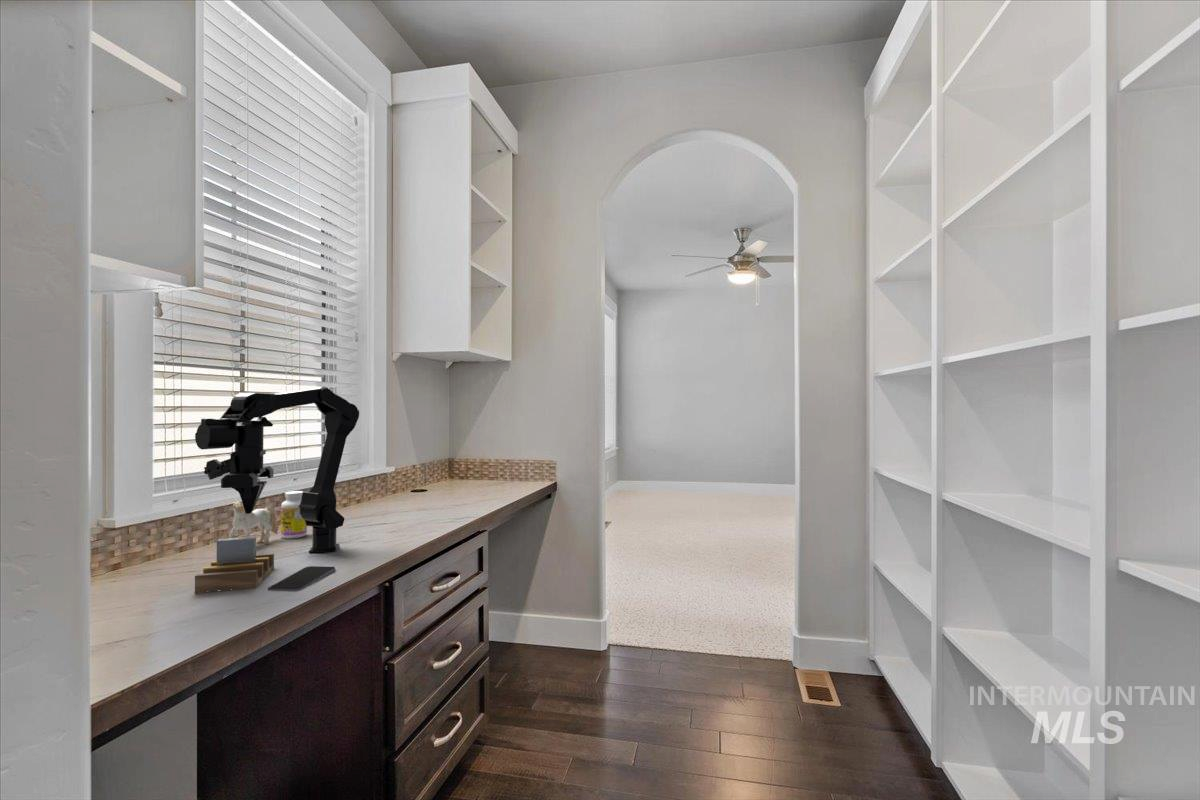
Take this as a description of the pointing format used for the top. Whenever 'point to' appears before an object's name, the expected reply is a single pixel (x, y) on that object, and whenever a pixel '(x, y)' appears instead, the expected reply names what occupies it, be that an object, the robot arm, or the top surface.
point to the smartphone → (302, 578)
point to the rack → (234, 575)
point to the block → (236, 551)
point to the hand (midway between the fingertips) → (248, 513)
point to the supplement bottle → (292, 516)
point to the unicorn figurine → (254, 521)
